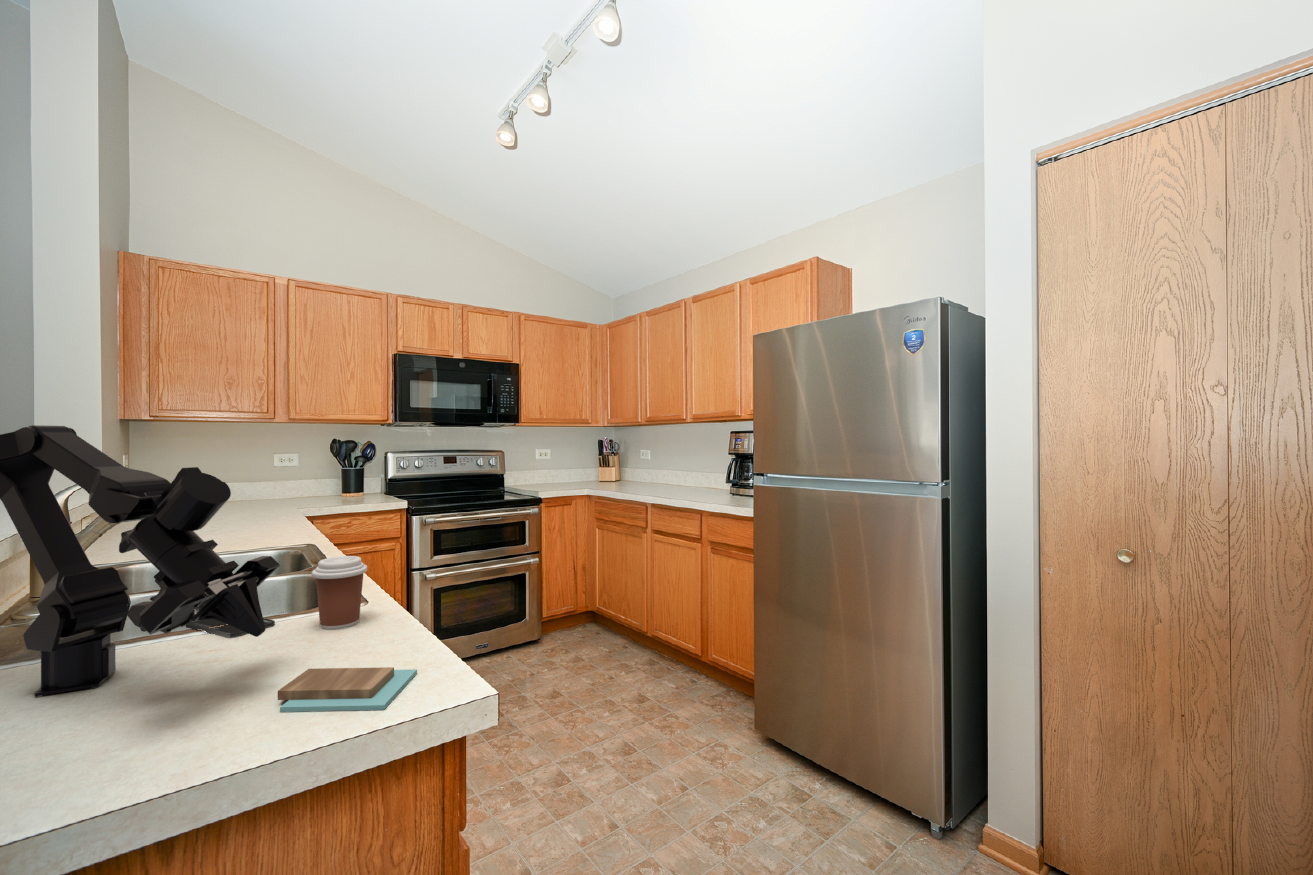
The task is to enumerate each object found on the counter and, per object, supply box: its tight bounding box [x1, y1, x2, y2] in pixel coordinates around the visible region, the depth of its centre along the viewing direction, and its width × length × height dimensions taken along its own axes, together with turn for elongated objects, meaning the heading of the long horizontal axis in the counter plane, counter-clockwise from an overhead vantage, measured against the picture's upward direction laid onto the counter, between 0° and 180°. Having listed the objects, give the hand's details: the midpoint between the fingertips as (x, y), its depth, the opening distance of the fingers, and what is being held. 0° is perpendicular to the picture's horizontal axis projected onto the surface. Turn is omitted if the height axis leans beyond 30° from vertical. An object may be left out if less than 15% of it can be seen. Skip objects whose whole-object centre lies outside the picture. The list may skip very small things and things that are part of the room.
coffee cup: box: [311, 555, 368, 631], centre depth 104 cm, size 9×9×12 cm
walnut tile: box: [277, 666, 395, 701], centre depth 77 cm, size 1×7×12 cm
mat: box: [279, 669, 418, 713], centre depth 77 cm, size 13×11×1 cm
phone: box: [185, 617, 276, 639], centre depth 103 cm, size 8×1×15 cm
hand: (261, 633), depth 76 cm, fingers closed
